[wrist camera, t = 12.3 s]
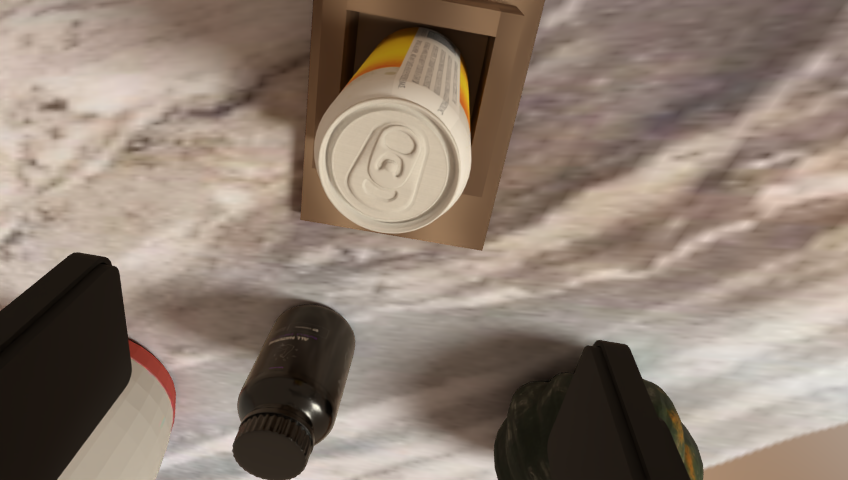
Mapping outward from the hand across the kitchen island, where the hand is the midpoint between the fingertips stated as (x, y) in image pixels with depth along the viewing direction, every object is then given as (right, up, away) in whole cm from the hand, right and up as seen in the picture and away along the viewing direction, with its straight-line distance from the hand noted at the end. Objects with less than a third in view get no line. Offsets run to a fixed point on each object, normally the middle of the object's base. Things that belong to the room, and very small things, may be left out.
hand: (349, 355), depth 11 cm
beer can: (+1, +12, +22) cm, 25 cm away
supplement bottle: (-7, -5, +34) cm, 35 cm away
